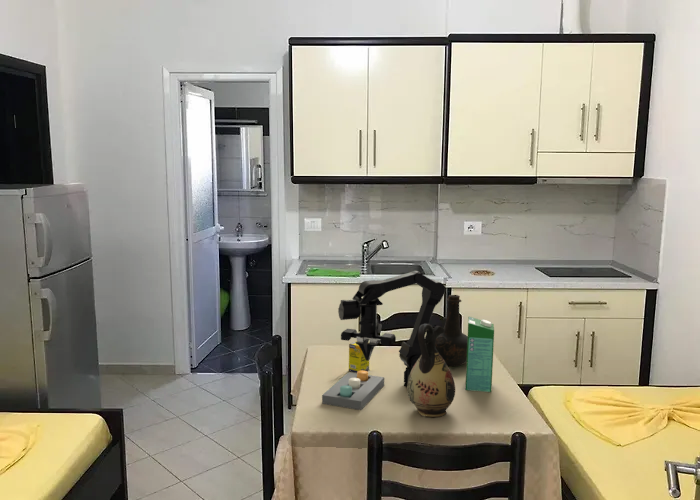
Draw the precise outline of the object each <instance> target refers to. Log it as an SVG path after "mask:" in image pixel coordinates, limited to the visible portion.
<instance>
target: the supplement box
mask: <svg viewBox="0 0 700 500" xmlns="http://www.w3.org/2000/svg"><path fill="white" fill-rule="evenodd" d="M356 342H357V340H356V341H354V342H350V343H348V372H352V373H357V372H358V371H361V370H364V371H367V372H368V371H369V370H370V360H369V361H366V359H365V357H364V354H363V352H362V350H361V348H360V347H359V345H358V344H356Z"/></svg>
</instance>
